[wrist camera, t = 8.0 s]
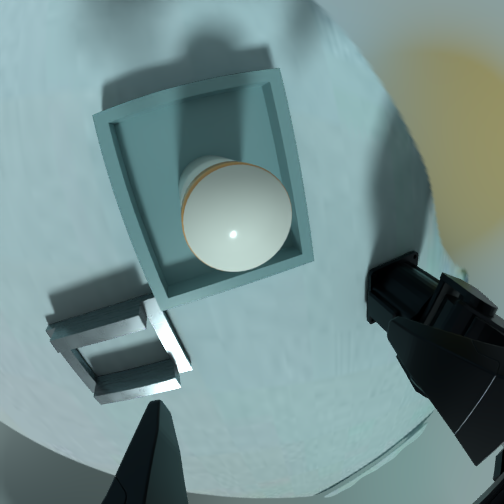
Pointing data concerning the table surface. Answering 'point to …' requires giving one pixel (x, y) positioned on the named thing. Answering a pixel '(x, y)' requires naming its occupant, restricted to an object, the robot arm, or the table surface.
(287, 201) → the cylinder
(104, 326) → the clip rails
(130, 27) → the table surface
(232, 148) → the tray
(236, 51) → the table surface
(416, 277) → the robot arm
